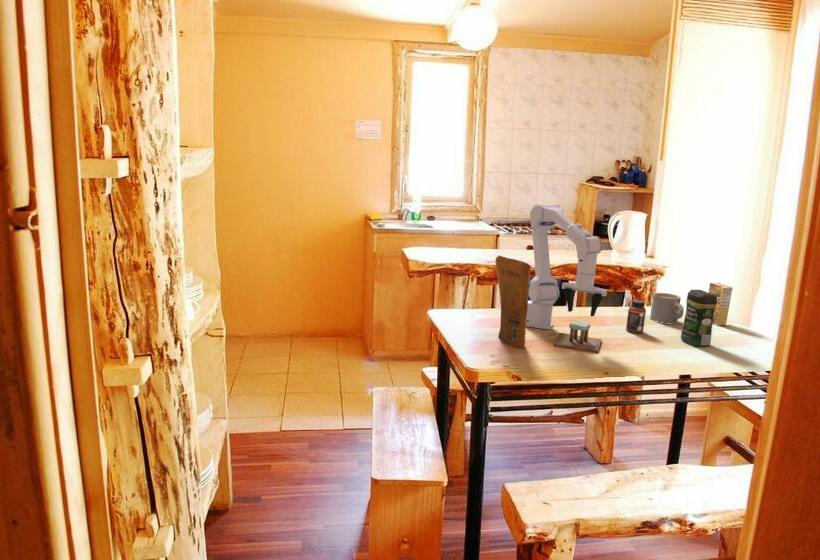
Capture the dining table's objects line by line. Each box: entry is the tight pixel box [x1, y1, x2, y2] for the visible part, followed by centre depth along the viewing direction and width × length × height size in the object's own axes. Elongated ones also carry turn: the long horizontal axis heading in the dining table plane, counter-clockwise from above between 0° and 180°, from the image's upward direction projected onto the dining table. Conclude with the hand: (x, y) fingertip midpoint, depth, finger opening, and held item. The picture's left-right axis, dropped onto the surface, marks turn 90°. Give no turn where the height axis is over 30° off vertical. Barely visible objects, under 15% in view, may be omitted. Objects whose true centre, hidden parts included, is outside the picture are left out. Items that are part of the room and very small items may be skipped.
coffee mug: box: [649, 292, 685, 324], centre depth 238 cm, size 13×10×10 cm
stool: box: [568, 320, 592, 344], centre depth 203 cm, size 5×5×6 cm
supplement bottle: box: [625, 299, 647, 334], centre depth 222 cm, size 6×6×11 cm
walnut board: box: [553, 332, 603, 354], centre depth 204 cm, size 14×14×1 cm
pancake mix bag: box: [495, 255, 532, 350], centre depth 199 cm, size 7×19×28 cm, turn 19°
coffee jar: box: [680, 289, 717, 348], centre depth 210 cm, size 10×8×19 cm
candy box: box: [707, 282, 733, 326], centre depth 240 cm, size 9×4×15 cm, turn 8°
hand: (581, 313), depth 202 cm, fingers open, 7 cm apart
